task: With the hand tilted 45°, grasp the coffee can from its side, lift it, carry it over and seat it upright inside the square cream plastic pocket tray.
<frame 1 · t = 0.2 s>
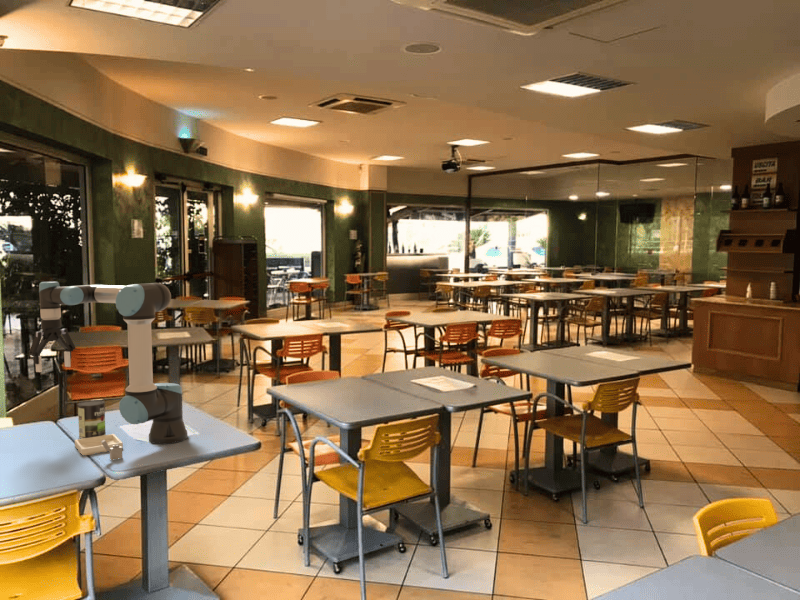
hand: (53, 369, 281), 28 cm above the table, tool pointing down, fingers open, 13 cm apart
coffee can: (92, 436, 280), on the table
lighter: (112, 460, 250), on the table
pocket tray: (98, 447, 265), on the table
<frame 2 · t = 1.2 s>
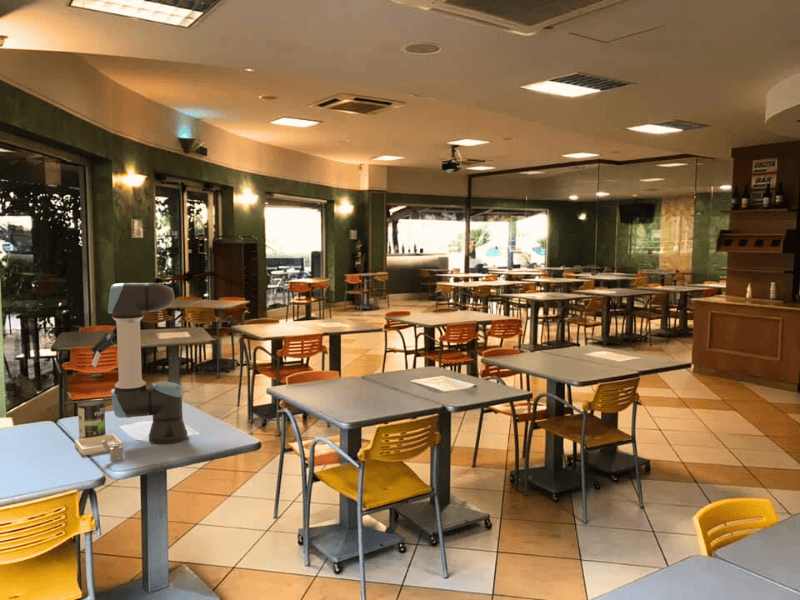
hand: (108, 365, 289), 28 cm above the table, tool tilted 45°, fingers open, 13 cm apart
nothing on the table moved.
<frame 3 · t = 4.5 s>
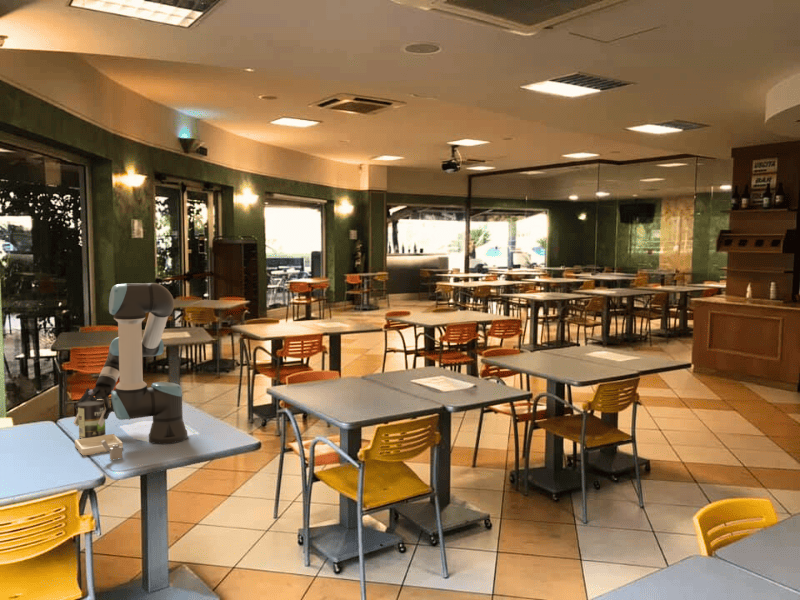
hand: (87, 425, 277), 5 cm above the table, tool tilted 45°, fingers closed on coffee can, 10 cm apart
coffee can: (92, 436, 280), on the table, touching gripper
everything else where it was.
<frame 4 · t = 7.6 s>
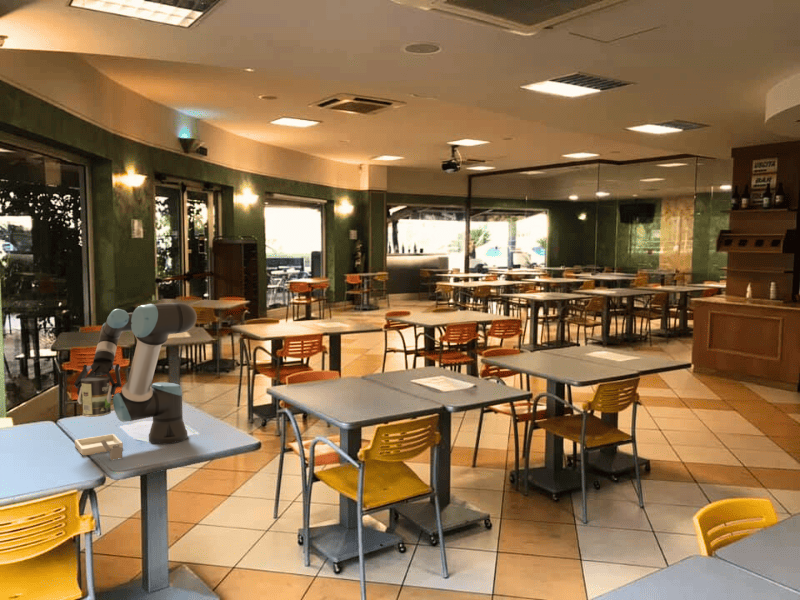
hand: (93, 401, 261), 19 cm above the table, tool tilted 45°, fingers closed on coffee can, 10 cm apart
coffee can: (96, 414, 264), point 13 cm above the table, touching gripper
everything else where it was.
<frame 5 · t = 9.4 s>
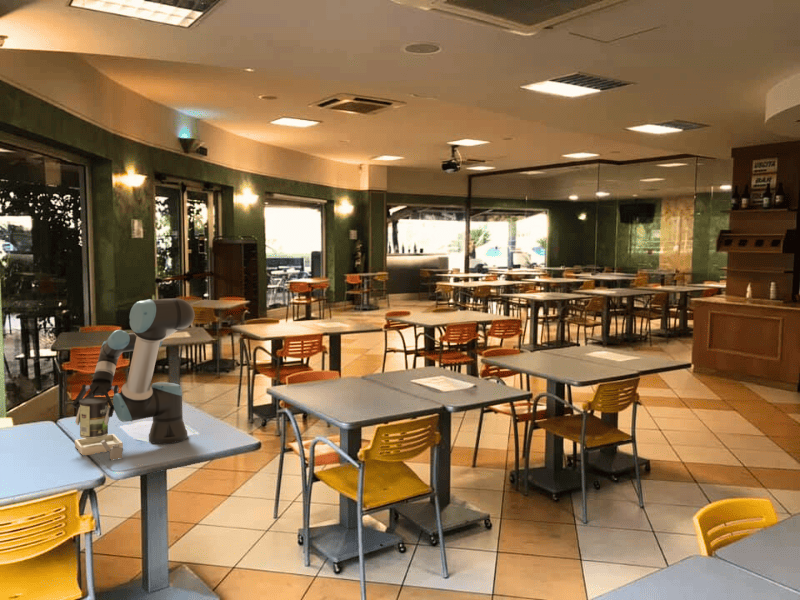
hand: (91, 423, 262), 10 cm above the table, tool tilted 45°, fingers closed on coffee can, 10 cm apart
coffee can: (94, 435, 266), point 5 cm above the table, touching gripper
everything else where it was.
when the fingers open (8 cm above the table, at t = 10.5 s): coffee can stays where it is, resting on pocket tray.
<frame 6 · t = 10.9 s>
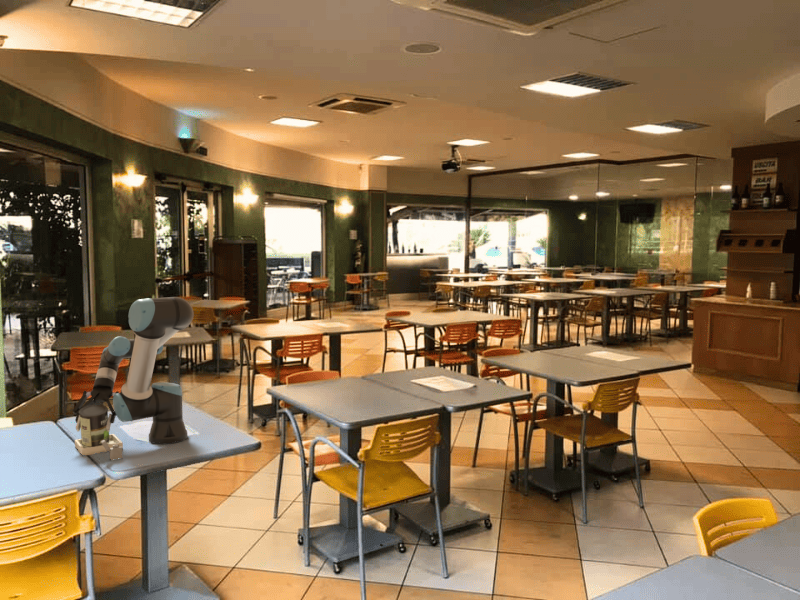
hand: (92, 430, 262), 8 cm above the table, tool tilted 45°, fingers open, 10 cm apart
coffee can: (95, 442, 266), point 2 cm above the table, touching gripper, pocket tray
everything else where it was.
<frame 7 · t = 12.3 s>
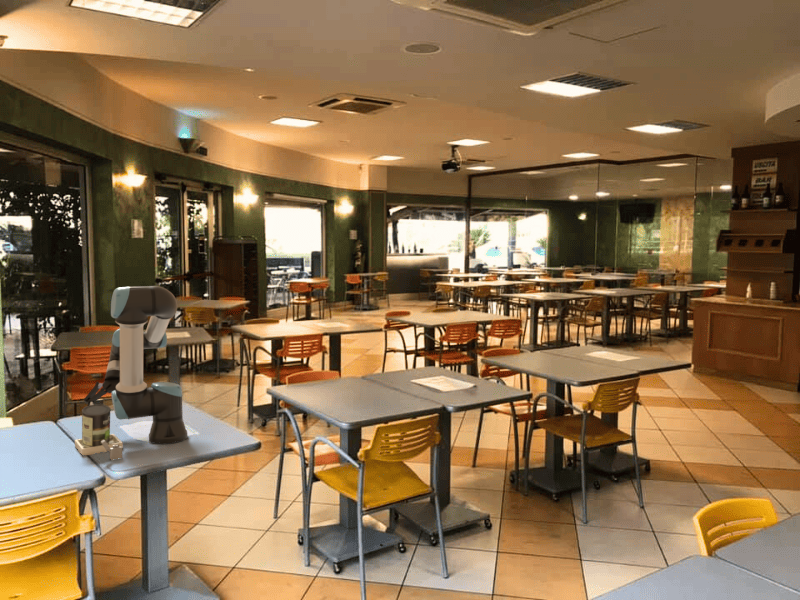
hand: (106, 416, 275), 9 cm above the table, tool tilted 45°, fingers open, 13 cm apart
coffee can: (95, 442, 266), point 2 cm above the table, touching pocket tray
everything else where it was.
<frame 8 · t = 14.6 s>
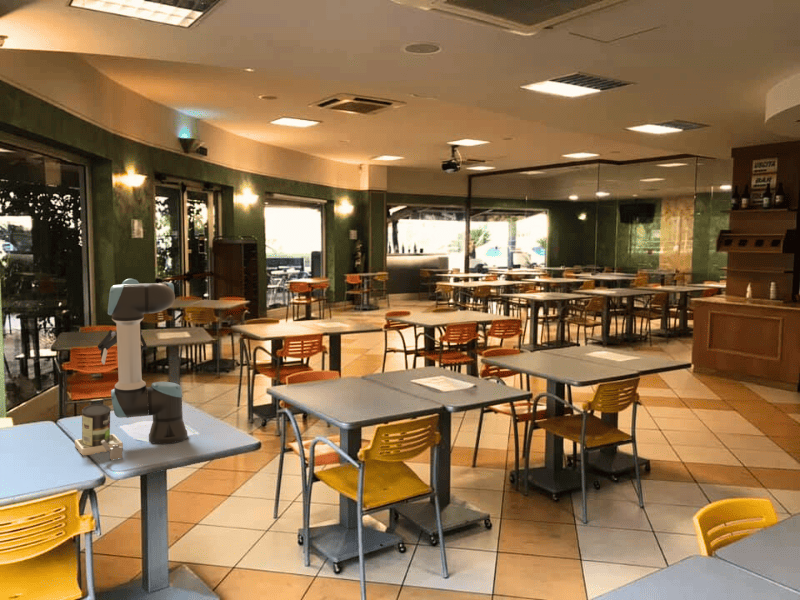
hand: (119, 362, 286), 30 cm above the table, tool tilted 45°, fingers open, 13 cm apart
nothing on the table moved.
at the end: coffee can inside the target area on the pocket tray (2.6 cm from its centre), point 1.5 cm above the pocket tray's base; coffee can tilted 12°; the gripper is holding nothing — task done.
